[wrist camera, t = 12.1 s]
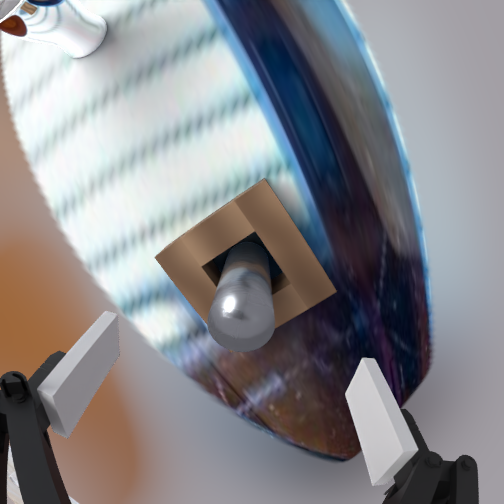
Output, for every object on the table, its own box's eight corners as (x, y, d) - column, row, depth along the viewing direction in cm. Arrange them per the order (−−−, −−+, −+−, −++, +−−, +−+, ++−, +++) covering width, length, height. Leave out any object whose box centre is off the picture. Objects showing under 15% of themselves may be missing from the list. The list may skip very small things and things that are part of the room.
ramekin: (9, 463, 55) (3, 472, 50) (31, 476, 55) (25, 486, 50) (21, 478, 58) (16, 487, 53) (43, 490, 58) (38, 499, 53)
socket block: (264, 178, 29) (265, 179, 25) (328, 276, 32) (336, 291, 28) (166, 246, 31) (154, 257, 27) (233, 333, 34) (230, 352, 30)
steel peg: (253, 233, 31) (249, 280, 18) (276, 267, 32) (287, 332, 19) (218, 256, 31) (193, 315, 19) (242, 289, 32) (233, 361, 20)
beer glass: (121, 21, 24) (54, -37, 10) (86, 69, 26) (2, 33, 11) (86, 9, 23) (20, -39, 9) (55, 53, 25) (-24, 22, 10)
